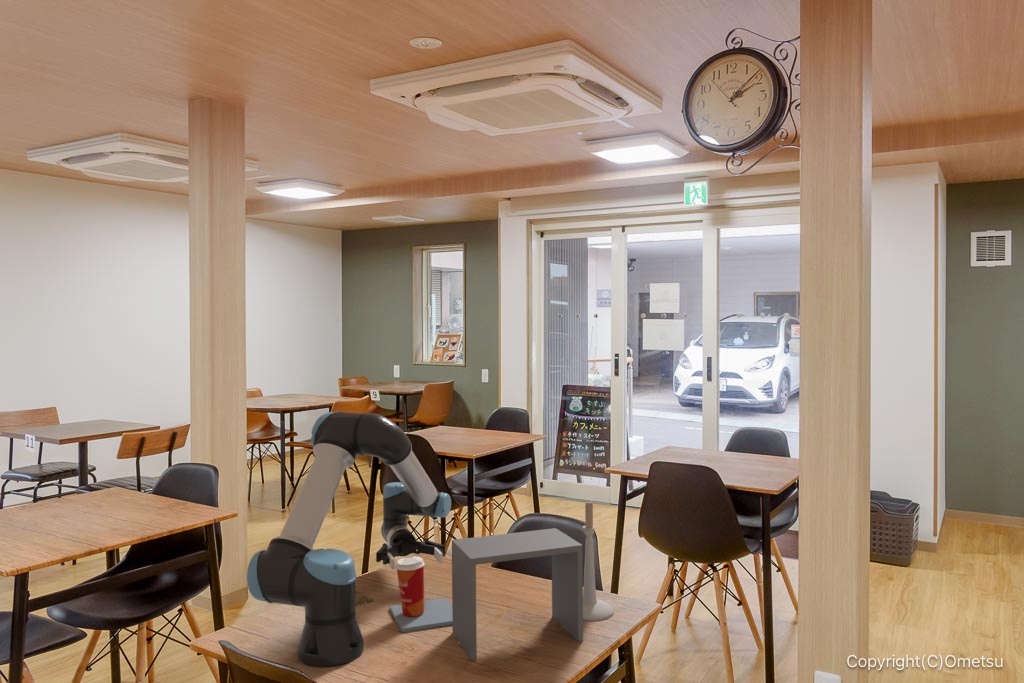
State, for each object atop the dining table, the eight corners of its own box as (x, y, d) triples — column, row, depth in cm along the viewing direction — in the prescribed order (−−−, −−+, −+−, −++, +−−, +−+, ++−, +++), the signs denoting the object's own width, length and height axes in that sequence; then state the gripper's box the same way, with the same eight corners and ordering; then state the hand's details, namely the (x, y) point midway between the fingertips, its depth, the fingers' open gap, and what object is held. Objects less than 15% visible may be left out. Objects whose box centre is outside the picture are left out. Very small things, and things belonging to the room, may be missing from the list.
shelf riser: (471, 660, 168) (470, 558, 168) (452, 633, 183) (451, 539, 183) (582, 640, 178) (582, 545, 178) (556, 616, 193) (555, 528, 193)
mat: (401, 632, 184) (401, 628, 184) (389, 609, 199) (389, 605, 199) (463, 623, 190) (462, 619, 190) (446, 601, 205) (446, 597, 205)
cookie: (377, 601, 206) (377, 598, 206) (339, 613, 197) (339, 610, 197) (353, 591, 214) (353, 587, 214) (316, 602, 206) (316, 599, 206)
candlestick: (621, 608, 199) (621, 498, 198) (600, 624, 188) (599, 508, 187) (579, 599, 206) (579, 492, 205) (557, 614, 195) (556, 502, 194)
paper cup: (397, 609, 196) (393, 558, 196) (425, 605, 198) (421, 554, 198) (401, 620, 189) (397, 567, 188) (430, 615, 191) (426, 562, 190)
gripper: (441, 548, 228) (460, 569, 208) (360, 557, 219) (372, 580, 199) (441, 524, 228) (460, 543, 208) (360, 532, 219) (372, 553, 199)
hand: (417, 561), depth 203 cm, fingers open, 13 cm apart
